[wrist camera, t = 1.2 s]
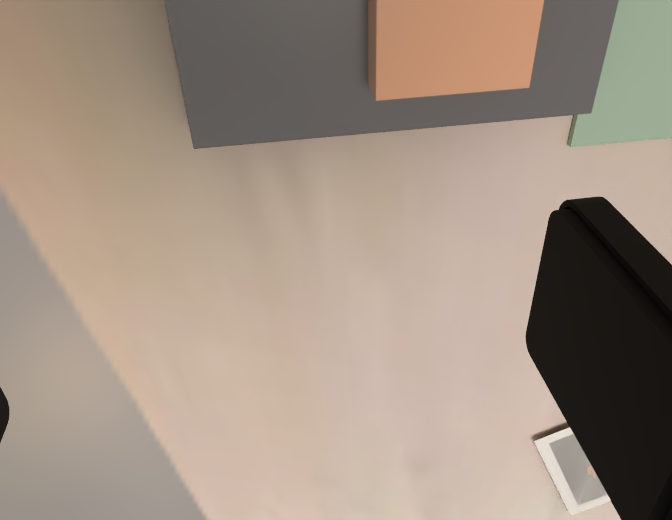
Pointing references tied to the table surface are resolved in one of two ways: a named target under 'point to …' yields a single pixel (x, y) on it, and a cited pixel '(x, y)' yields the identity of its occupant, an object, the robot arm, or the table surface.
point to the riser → (354, 71)
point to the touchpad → (571, 471)
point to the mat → (632, 79)
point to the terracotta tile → (450, 46)
